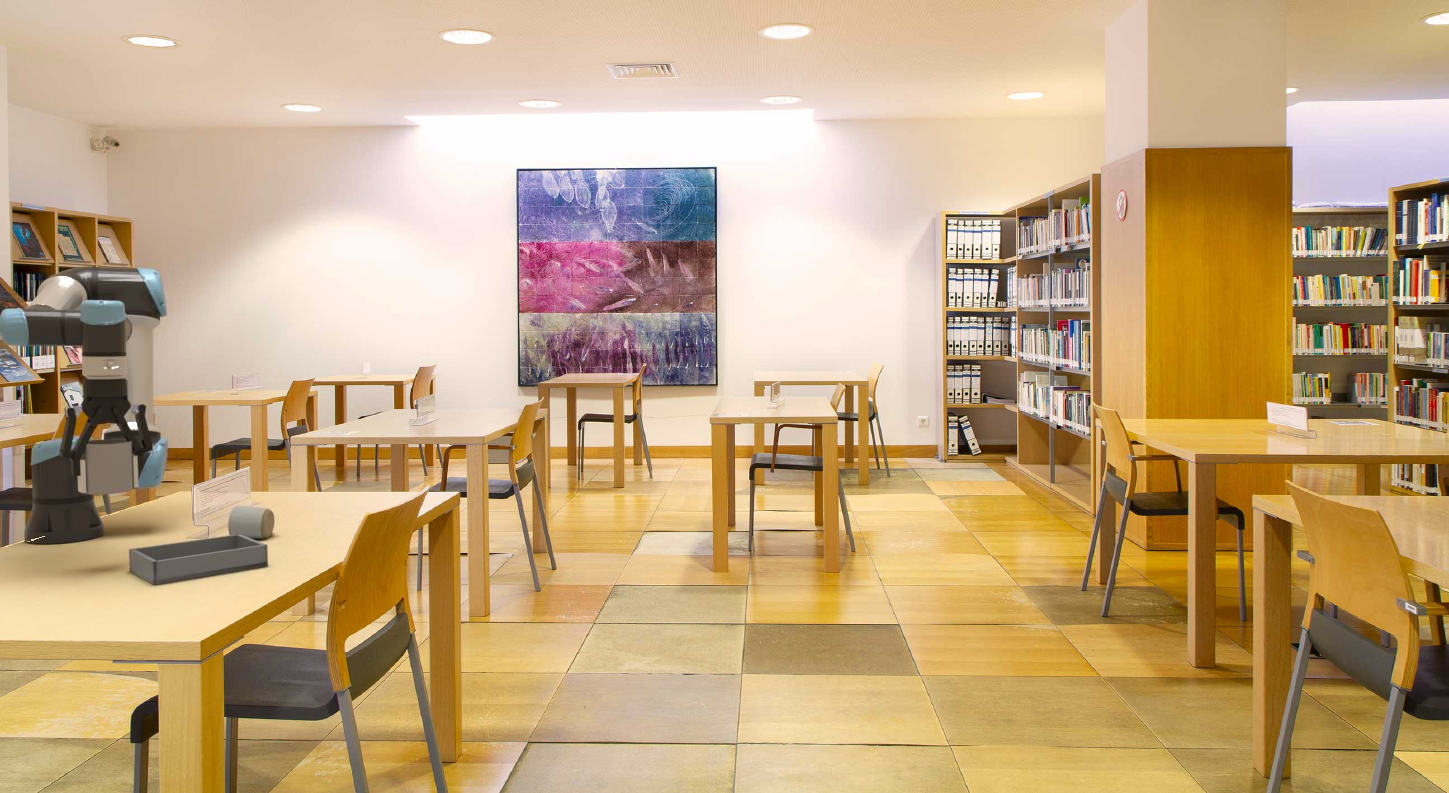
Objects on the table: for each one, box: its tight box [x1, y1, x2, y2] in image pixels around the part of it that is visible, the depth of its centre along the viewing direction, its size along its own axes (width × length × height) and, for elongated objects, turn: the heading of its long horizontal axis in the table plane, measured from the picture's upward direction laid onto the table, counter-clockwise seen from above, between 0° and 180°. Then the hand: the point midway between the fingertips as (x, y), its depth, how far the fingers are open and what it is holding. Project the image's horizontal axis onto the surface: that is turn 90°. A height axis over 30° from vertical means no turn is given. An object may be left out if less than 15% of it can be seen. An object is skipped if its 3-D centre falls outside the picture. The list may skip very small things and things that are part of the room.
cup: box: [82, 438, 134, 496], centre depth 191 cm, size 8×8×10 cm
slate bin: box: [128, 534, 269, 586], centre depth 193 cm, size 15×21×4 cm
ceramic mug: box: [227, 505, 275, 540], centre depth 223 cm, size 11×8×8 cm
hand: (108, 489), depth 191 cm, fingers closed on cup, 8 cm apart
